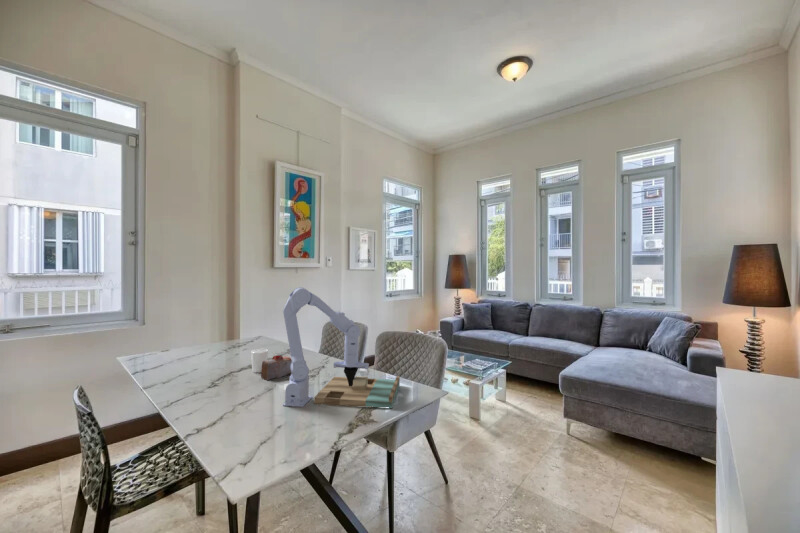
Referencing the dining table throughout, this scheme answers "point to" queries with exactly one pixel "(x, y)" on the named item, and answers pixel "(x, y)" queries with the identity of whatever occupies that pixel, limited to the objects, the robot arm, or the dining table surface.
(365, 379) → the block
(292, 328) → the robot arm
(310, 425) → the dining table surface
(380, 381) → the track
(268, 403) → the dining table surface
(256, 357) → the white cup
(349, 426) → the dining table surface
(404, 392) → the dining table surface
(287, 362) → the food item
